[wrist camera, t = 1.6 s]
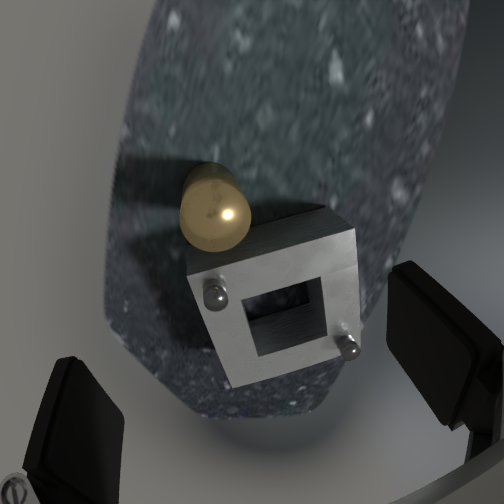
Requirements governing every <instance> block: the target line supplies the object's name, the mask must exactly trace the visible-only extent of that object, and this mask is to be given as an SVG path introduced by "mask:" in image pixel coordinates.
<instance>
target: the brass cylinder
mask: <svg viewBox="0 0 504 504" xmlns="http://www.w3.org/2000/svg"><path fill="white" fill-rule="evenodd" d="M250 223H251V211H250V207H249V205H248V203H247V201H246V199H245V197H244V195H243V193H242V191H241V190H240V188H239V186H238V184H237V182H236V180H235V179H234V177H233V175H232V173H231V172H230V171H229V170H228V169H227V168H226V167H224V166H222V165H220V164H217V163H203V164H200V165H198V166H196V167H194V168H193V169H192V170H191V171H190V172H189V173H188V175H187V176H186V178H185V181H184V185H183V193H182V201H181V209H180V226H181V230H182V232H183V234H184V236H185V238H186V239H187V240H188V241H189V242H190V243H191V244H192V245H193V246H195V247H197V248H199V249H201V250H204V251H208V252H221V251H225V250H228V249H230V248H232V247H234V246H236V245H237V244H238V243H239V242H241V240H242V239H243V238H244V237H245V236H246V234H247V232H248V230H249V227H250Z"/></svg>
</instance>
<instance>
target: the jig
mask: <svg viewBox="0 0 504 504" xmlns="http://www.w3.org/2000/svg"><path fill="white" fill-rule="evenodd" d="M187 279H188V281H189V284H190V287H191V289H192V292H193V294H194V297H195V300H196V302H197V305H198V307H199V310H200V312H201V315H202V317H203V320H204V322H205V325H206V327H207V330H208V332H209V334H210V337H211V339H212V342H213V344H214V346H215V349H216V351H217V353H218V356H219V358H220V361H221V363H222V365H223V367H224V370H225V372H226V374H227V377H228V379H229V381H230V383H231V386H232V388H235V387H239V386H243V385H247V384H250V383H254V382H258V381H261V380H265V379H268V378H272V377H275V376H279V375H282V374H285V373H289V372H292V371H295V370H298V369H301V368H305V367H308V366H311V365H314V364H317V363H320V362H323V361H326V360H329V359H331V358H334V357H337V356H340V355H342V357H343V358H344V360H346V361H351V360H354V359H355V358H357V357H358V356H359V354H360V351H361V350H360V303H359V281H358V264H357V250H356V238H355V228H354V227H352V226H351V225H350V224H349V223H348V222H347V221H345V220H344V219H343V218H342V217H341V216H339V215H338V214H337V213H336V212H335V211H333V210H332V209H331V208H330V207H329V206H328V207H324V208H320V209H317V210H313V211H309V212H305V213H302V214H298V215H294V216H290V217H287V218H283V219H279V220H276V221H272V222H269V223H265V224H261V225H258V226H254V227H251V228H249V230H248V232H247V234H246V236H245V237H244V238H243V239H242V240H241V242H239V243H238V244H237V245H236V246H234V247H232V248H230V249H228V250H225V251H221V252H208V251H204V250H201V249H199V248H197V247H195V246H193V245H192V244H191V245H187ZM304 281H306V284H307V290H308V296H309V303H306V304H303V305H300V306H297V307H294V308H290V309H287V310H284V311H280V312H277V313H274V314H270V315H267V316H263V317H260V318H257V319H253V320H250V321H248V317H247V314H246V311H245V308H244V304H243V301H242V299H246V298H249V297H253V296H256V295H260V294H263V293H267V292H270V291H274V290H277V289H280V288H284V287H287V286H290V285H294V284H297V283H300V282H304Z"/></svg>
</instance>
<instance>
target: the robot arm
mask: <svg viewBox="0 0 504 504" xmlns="http://www.w3.org/2000/svg"><path fill="white" fill-rule="evenodd" d="M386 341H387V345H388V348H389V350H390V351H391V352H392V354H393V355H394V357H395V358H396V359H397V361H398V362H399V364H400V365H401V366H402V368H403V369H404V371H405V372H406V373H407V375H408V376H409V378H410V379H411V381H412V382H413V383H414V385H415V386H416V388H417V389H418V391H419V392H420V393H421V395H422V396H423V398H424V399H425V401H426V402H427V404H428V405H429V407H430V408H431V410H432V411H433V412H434V414H435V415H436V417H437V418H438V420H439V421H440V423H441V424H442V425H444V426H446V425H448V426H449V428H450V429H451V431H453V430H455V429H457V428H458V427H460V426H462V425H463V424H465V425H466V426H467V428H468V429H469V431H470V433H469V439H468V445H467V451H466V456H465V461H464V464H463V465H462V466H460V467H458V468H457V469H455V470H453V471H452V472H450V473H448V474H446V475H445V476H443V477H441V478H439V479H437V480H436V481H434V482H432V483H430V484H428V485H426V486H425V487H423V488H421V489H419V490H417V491H415V492H413V493H411V494H409V495H407V496H405V497H403V498H400V499H398V500H396V501H394V502H392V503H390V504H504V346H503V345H502V344H501V340H500V339H499V338H498V337H497V336H496V335H495V334H494V333H493V332H492V331H491V330H490V329H488V327H486V326H485V325H484V324H483V323H482V322H481V321H480V320H479V319H478V318H477V317H476V316H475V315H474V314H473V313H471V312H470V311H469V310H468V309H467V308H466V307H465V306H464V305H463V304H462V303H461V302H459V301H458V300H457V299H456V298H455V297H454V296H453V295H452V294H450V293H449V292H448V291H447V290H446V289H445V288H444V287H443V286H442V285H440V284H439V283H438V282H437V281H436V280H435V279H433V278H432V277H431V276H430V275H429V274H428V273H426V272H425V271H424V270H423V269H422V268H420V267H419V266H418V265H417V264H416V263H414V262H413V261H406V262H404V263H401V264H398V265H395V266H394V267H393V268H392V272H390V273H389V274H388V310H387V334H386ZM123 432H124V416H123V414H122V412H121V411H120V410H119V408H118V407H117V406H116V405H115V404H114V403H113V401H112V400H111V399H110V397H109V396H108V395H107V394H106V392H105V391H104V389H103V388H102V387H101V386H100V384H99V383H98V382H97V380H96V379H95V378H94V376H93V375H92V373H91V372H90V371H89V369H88V368H87V366H86V365H85V364H84V362H83V361H82V360H78V359H77V358H76V357H75V356H71V357H65V358H60V359H58V360H57V361H56V363H55V366H54V368H53V371H52V373H51V376H50V379H49V382H48V385H47V387H46V390H45V393H44V396H43V399H42V402H41V405H40V408H39V411H38V414H37V417H36V420H35V423H34V427H33V430H32V433H31V437H30V440H29V444H28V447H27V451H26V455H25V459H24V463H23V467H22V468H23V469H24V470H25V471H27V477H26V476H25V475H23V474H22V473H12V474H10V475H8V476H6V477H5V478H4V480H3V481H2V482H1V484H0V504H118V503H119V483H120V468H121V453H122V443H123Z"/></svg>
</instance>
